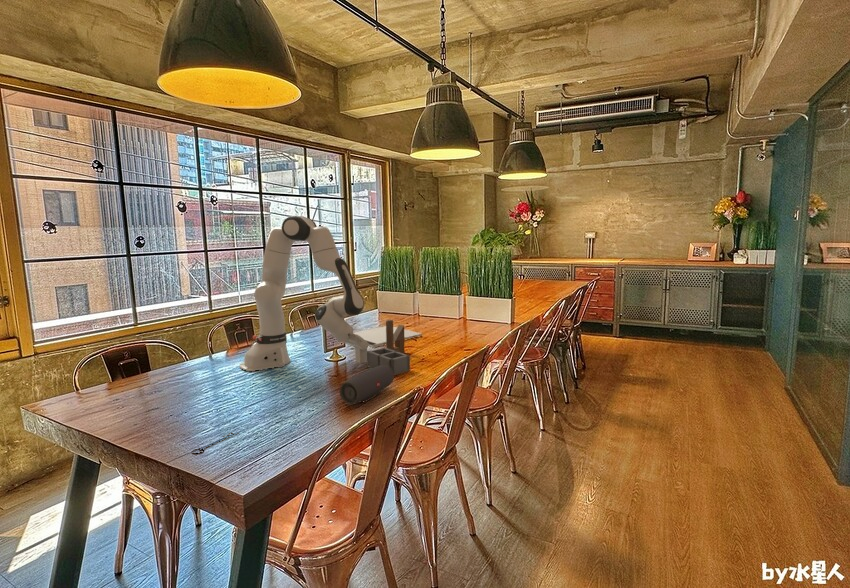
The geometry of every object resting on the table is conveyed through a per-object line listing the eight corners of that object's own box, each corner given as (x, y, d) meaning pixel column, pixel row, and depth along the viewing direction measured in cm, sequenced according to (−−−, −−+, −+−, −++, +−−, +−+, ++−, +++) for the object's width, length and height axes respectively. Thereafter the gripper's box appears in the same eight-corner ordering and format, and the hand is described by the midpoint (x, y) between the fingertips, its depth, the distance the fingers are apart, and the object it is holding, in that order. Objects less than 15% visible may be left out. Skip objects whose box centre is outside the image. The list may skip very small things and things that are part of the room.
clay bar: (360, 363, 211) (359, 342, 209) (355, 361, 214) (355, 341, 212) (367, 361, 213) (366, 341, 212) (362, 360, 216) (362, 339, 215)
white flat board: (372, 344, 238) (340, 334, 260) (372, 349, 238) (340, 338, 261) (421, 333, 261) (388, 325, 284) (421, 337, 261) (388, 329, 284)
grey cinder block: (391, 376, 193) (391, 360, 192) (367, 366, 206) (366, 351, 205) (409, 370, 199) (409, 355, 198) (385, 361, 213) (384, 347, 212)
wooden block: (404, 352, 228) (404, 317, 225) (390, 357, 220) (389, 321, 217) (399, 351, 230) (398, 316, 228) (384, 356, 222) (384, 320, 219)
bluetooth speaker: (359, 410, 157) (358, 382, 155) (338, 405, 161) (337, 378, 160) (395, 389, 176) (395, 365, 175) (376, 386, 181) (375, 361, 179)
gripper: (360, 330, 199) (378, 348, 206) (336, 323, 214) (354, 340, 222) (351, 342, 196) (370, 359, 204) (328, 334, 212) (347, 350, 219)
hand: (362, 349), depth 213 cm, fingers closed on clay bar, 4 cm apart
